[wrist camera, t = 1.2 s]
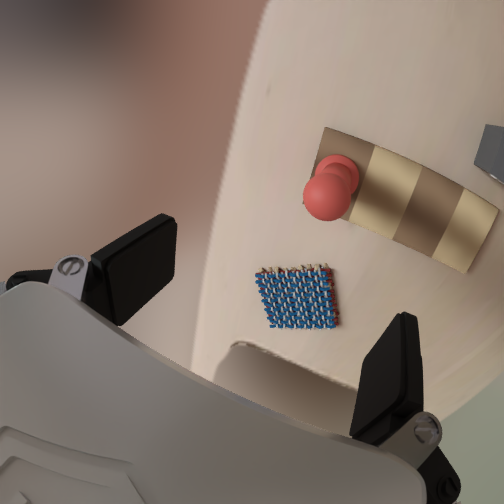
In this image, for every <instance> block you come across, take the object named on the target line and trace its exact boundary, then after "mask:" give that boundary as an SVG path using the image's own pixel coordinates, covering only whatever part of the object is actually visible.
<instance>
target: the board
mask: <svg viewBox="0 0 504 504" xmlns="http://www.w3.org/2000/svg"><path fill="white" fill-rule="evenodd" d="M333 154H340V155H344V156H346V157H348V158H350V159H351V160H352V161H353V162H354V163H355V165H356V166H357V168H358V172H359V182H358V186H357V188H356V190H355V191H354V193H353V194H351V203H350V206H349V208H348V210H347V212H346V213H345V214H344V215H343V216H342V217H340V218H341V219H344V220H346V221H349V222H351V223H354V224H356V225H359V226H361V227H363V228H366V229H368V230H371V231H373V232H375V233H378V234H380V235H382V236H385V237H387V238H389V239H392V240H394V241H396V242H398V243H401V244H403V245H405V246H407V247H410V248H412V249H414V250H416V251H418V252H421V253H423V254H425V255H427V256H429V257H431V258H433V259H435V260H437V261H440V262H442V263H444V264H446V265H448V266H450V267H452V268H454V269H456V270H458V271H460V272H462V273H464V274H465V273H466V272H467V270H468V268H469V267H470V265H471V263H472V262H473V260H474V258H475V256H476V255H477V253H478V251H479V249H480V247H481V245H482V244H483V242H484V240H485V238H486V236H487V234H488V232H489V230H490V228H491V226H492V224H493V222H494V220H495V217H496V215H497V213H498V211H499V209H498V208H496V207H495V206H494V205H492V204H491V203H489V202H488V201H486V200H484V199H483V198H481V197H480V196H478V195H476V194H475V193H473V192H471V191H470V190H468V189H466V188H464V187H463V186H461V185H459V184H457V183H455V182H454V181H452V180H450V179H448V178H446V177H444V176H442V175H440V174H439V173H437V172H435V171H433V170H431V169H429V168H427V167H425V166H423V165H420V164H418V163H416V162H414V161H412V160H410V159H408V158H405V157H403V156H401V155H399V154H396V153H394V152H392V151H389V150H387V149H385V148H382V147H380V146H377V145H375V144H372V143H370V142H367V141H364V140H362V139H359V138H356V137H354V136H351V135H348V134H345V133H342V132H339V131H337V130H334V129H331V128H327V127H325V128H324V132H323V135H322V139H321V142H320V146H319V150H318V153H317V157H316V160H315V163H314V167H313V170H312V174H311V177H310V179H311V178H312V177H314V176H315V171H316V168H317V166H318V164H319V163H320V162H321V161H322V160H323V159H324V158H325V157H327V156H329V155H333ZM303 204H304V200H303Z"/></svg>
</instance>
